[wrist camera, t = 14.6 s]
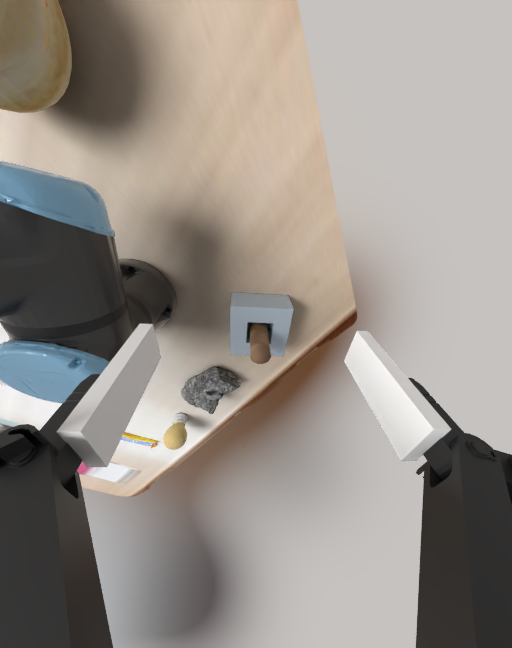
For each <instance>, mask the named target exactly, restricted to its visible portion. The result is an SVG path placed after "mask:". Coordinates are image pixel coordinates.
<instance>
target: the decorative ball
mask: <svg viewBox="0 0 512 648" xmlns="http://www.w3.org/2000/svg"><path fill="white" fill-rule="evenodd" d="M71 69H72V50H71V45H70V39H69V34H68V30H67V26H66V23H65V19H64V16H63V13H62V10H61V7H60V4H59V1H58V0H0V109H3V110H9V111H14V112H19V113H26V112H37V111H40V110H44V109H47V108H49V107H50V106H52V105H54V104H55V103H57V102H58V101H59V100H60V98H61V97H62V96H63V95H64V93H65V91H66V89H67V87H68V84H69V80H70V74H71Z"/></svg>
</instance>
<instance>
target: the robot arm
mask: <svg viewBox="0 0 512 648" xmlns="http://www.w3.org/2000/svg"><path fill="white" fill-rule="evenodd" d="M114 236H115V233H114V231H113V230H112V228H111V225H110V221H109V218H108V214H107V210H106V206H105V203H104V201H103V199H102V197H101V196H100V194H99V193H98V192H97V191H96V190H95V189H93V188H92V187H91V186H89V185H87V184H85V183H83V182H81V181H77V180H74V179H71V178H67V177H63V176H59V175H56V174H52V173H48V172H44V171H40V170H36V169H32V168H28V167H24V166H20V165H16V164H12V163H8V162H4V161H0V323H1V324H2V326H3V328H4V329H5V331H6V332H7V334H8V336H9V341H8V342H4V343H2V344H0V380H1V381H2V382H4V383H5V384H7V385H8V386H10V387H12V388H14V389H16V390H18V391H20V392H22V393H25V394H27V395H30V396H33V397H36V398H39V399H43V400H47V401H51V402H57V403H63V404H62V405H61V406H60V407H59V408H58V410H57V411H56V412H55V413H54V414H53V416H52V417H51V418H50V419H49V420H48V422H47V423H46V424H45V425H44V426H43V427H42V429H41V430H40V431H38V430H37V429H36V428H35V427H34V426H32V425H29V424H26V425H18V426H15V427H12V428H10V429H7V430H5V431H4V432H2V433H0V648H113V645H112V640H111V635H110V631H109V625H108V620H107V614H106V609H105V605H104V600H103V594H102V589H101V584H100V579H99V574H98V569H97V564H96V559H95V553H94V549H93V543H92V538H91V533H90V528H89V523H88V519H87V513H86V508H85V502H84V497H83V492H82V487H81V482H80V477H79V473H78V472H77V469H78V467H79V466H80V464H81V462H82V461H83V462H84V464H85V465H86V466H87V467H107V466H108V464H109V462H110V460H111V458H112V456H113V454H114V452H115V450H116V448H117V446H118V444H119V442H120V440H121V438H122V436H123V434H124V431H125V429H126V427H127V425H128V423H129V421H130V419H131V417H132V415H133V413H134V411H135V409H136V407H137V405H138V403H139V401H140V399H141V397H142V395H143V393H144V391H145V389H146V387H147V385H148V383H149V381H150V379H151V377H152V375H153V373H154V371H155V368H156V366H157V364H158V362H159V360H160V358H161V355H160V351H159V347H158V343H157V339H156V335H155V331H156V330H158V329H159V328H161V327H163V326H164V325H165V324H166V323H167V322H168V321H169V320H170V318H171V317H172V315H173V313H174V311H175V308H176V296H175V292H174V290H173V287H172V286H171V284H170V282H169V281H168V280H167V278H166V277H165V276H164V275H163V274H162V273H161V272H159V271H158V270H157V269H155V268H154V267H152V266H150V265H148V264H146V263H144V262H141V261H138V260H133V259H119V260H118V255H117V250H116V245H115V240H114ZM344 362H345V364H346V365H347V367H348V369H349V371H350V372H351V374H352V376H353V377H354V380H355V381H356V383H357V385H358V387H359V388H360V390H361V392H362V393H363V395H364V397H365V399H366V401H367V402H368V404H369V406H370V407H371V409H372V411H373V413H374V415H375V416H376V418H377V420H378V422H379V423H380V425H381V426H382V428H383V430H384V432H385V434H386V436H387V437H388V439H389V441H390V443H391V444H392V446H393V448H394V449H395V451H396V453H397V455H398V457H399V458H400V460H401V461H417V460H418V458H420V457H421V456H422V455H424V456H425V457H426V459H427V462H426V463H425V464H424V465H422V466H421V467H420V468H419V469H418V470H417V472H416V473H417V474H418V475H419V474H421V473H422V472H423V471H424V477H423V478H424V489H423V510H422V531H421V553H420V573H419V594H418V616H417V637H416V638H417V639H416V648H512V455H510V454H507V453H503V452H500V451H497V450H493V448H492V447H490V446H489V445H488V444H487V443H486V442H484V441H483V440H481V439H480V438H478V437H476V436H474V435H471V434H467V433H464V432H463V431H462V430H461V429H460V428H459V427H458V426H457V424H456V423H455V422H454V421H453V420H452V419H451V418H450V416H449V415H448V414H447V413H446V412H445V411H444V410H443V409H442V408H441V406H440V405H439V404H438V403H436V401H435V400H434V399H433V397H432V396H430V394H429V393H428V392H427V391H426V390H425V389H424V387H423V386H422V385H420V384H419V383H418V382H416V381H415V380H414V379H412V378H407V376H406V375H405V374H404V373H403V372H402V371H401V369H399V367H398V366H397V365H396V364H395V362H394V361H393V360H392V359H391V358H390V357H389V356H388V354H387V353H386V352H385V351H384V350H383V348H382V347H381V346H380V345H379V344H378V343H377V341H376V340H375V339H374V338H373V337H372V336H371V334H370V333H369V332H368V331H357V332H356V334H355V336H354V339H353V341H352V343H351V346H350V348H349V350H348V353H347V355H346V357H345V360H344Z"/></svg>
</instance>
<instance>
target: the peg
mask: <svg viewBox="0 0 512 648" xmlns="http://www.w3.org/2000/svg"><path fill="white" fill-rule="evenodd" d="M250 357H251V360H252V361H253V362H255V363H257V364H263V363H266V362H268V361H269V360H270V358H271V353H270V345H269V338H268V331H267V324H266V323H253V322H250Z"/></svg>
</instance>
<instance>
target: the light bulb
mask: <svg viewBox="0 0 512 648" xmlns="http://www.w3.org/2000/svg"><path fill="white" fill-rule="evenodd" d="M186 419H187V416H186V415H185V414H183V413H179V414H177V415H175V419H174V422H173V425H172V426H171V427H170V428H169V429H168V430H167V431H166V433H165V435H164V444H165V446H166V447H167V448H169V449H173V450H174V449H178V448H180V447H182V446H183V445H184V443H185V441H186V438H187V432H186V429H185V427H184V426H185V423H186Z"/></svg>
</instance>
